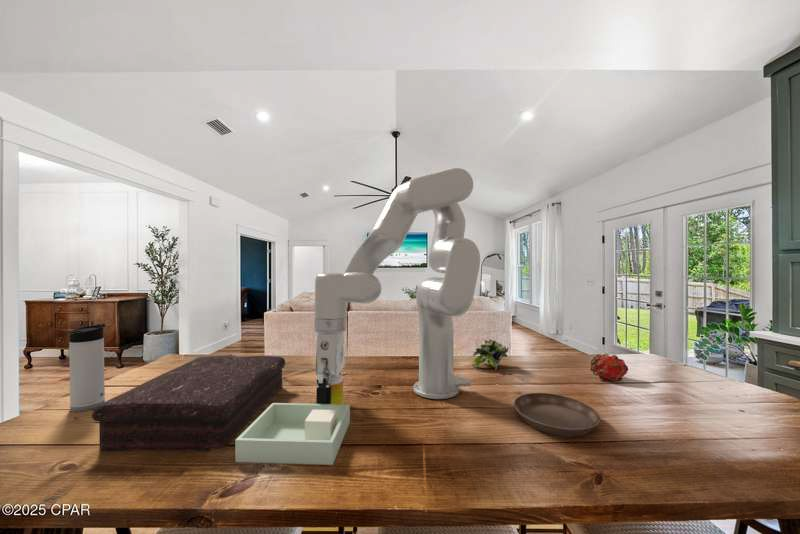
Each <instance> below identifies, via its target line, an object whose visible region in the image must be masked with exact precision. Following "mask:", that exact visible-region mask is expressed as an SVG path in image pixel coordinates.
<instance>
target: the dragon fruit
mask: <svg viewBox="0 0 800 534" xmlns="http://www.w3.org/2000/svg"><path fill="white" fill-rule="evenodd" d="M628 367H629V366H627V364H626V363H625V361H624V359H622V358H619V357H618V356H617V355H616V354H612V355H609V354H608V353H606V354H605V353H604V354H599V353H598V354H596V355H595V356H593V357H592V359H591V360H590V369H589V370H590V371H591V372H592V373H593V376H597V377H598V378H599V380H605V379H606V380H608V381H611V382H614V381H615V380H616V381H622V380H623V379H624V378H623V377H624V376H625V375H626V374H627V373H628V371H629V368H628Z"/></svg>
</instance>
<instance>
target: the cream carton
mask: <svg viewBox="0 0 800 534" xmlns="http://www.w3.org/2000/svg"><path fill="white" fill-rule="evenodd" d="M336 426H337V410H314V409H313V410H312V411H311V413H310V414H309V415H308V417H307V418H306V420H305V440H330V439H331V436H332V434H333V432H334V430H335V428H336Z"/></svg>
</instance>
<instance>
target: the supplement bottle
mask: <svg viewBox="0 0 800 534" xmlns="http://www.w3.org/2000/svg"><path fill="white" fill-rule="evenodd" d="M324 373H329V372H324ZM324 378H326V381H327V379H328V377H324ZM330 386H331V404H344V377H343V376H342V374H341V375H340V373H339V374H338V375H337V376H336V377H334V375H332V376H331V382H330Z"/></svg>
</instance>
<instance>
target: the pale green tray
mask: <svg viewBox="0 0 800 534" xmlns="http://www.w3.org/2000/svg"><path fill="white" fill-rule="evenodd" d="M313 409H314V410H337V426H336V428H335V430H334V432H333V434H332V436H331V439H330V440H305V420H306V418H307V417H308V415H309V414H310V413H311V411H312V410H313ZM350 410H351V405H350V404H347V403H346V404H344V403H343V404H316V403H299V402H297V403H294V402H293V403H287V402H272V403H271V404H270V405H269V406H268V407H267V408H266V409H265V410H264V411H263V412H262V413H261V414H260V415H259V416H257V418H256V419H255V420H254V421H253V422H251V424H250V425H249V426H248V427H247V428H246V429H244V430H243V432H242V433H241V434H240V435H239V436H238V437H237V438H236V439H235V442H234V443H235V448H234V449H235V453H234V454H235V455H234V456H235V463H253V464H254V463H255V464H257V463H258V464H287V465H288V464H289V465H290V464H293V465H294V464H295V465H326V466H327V465H329V466H333V465H334V463H335V460H336V458H337V456H338V453H339V449H340V448H341V446H342V442H343V440H344V438H345V435H346V433H347V430H348V427H349V425H350V423H351V415H350V414H351V411H350Z"/></svg>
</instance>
